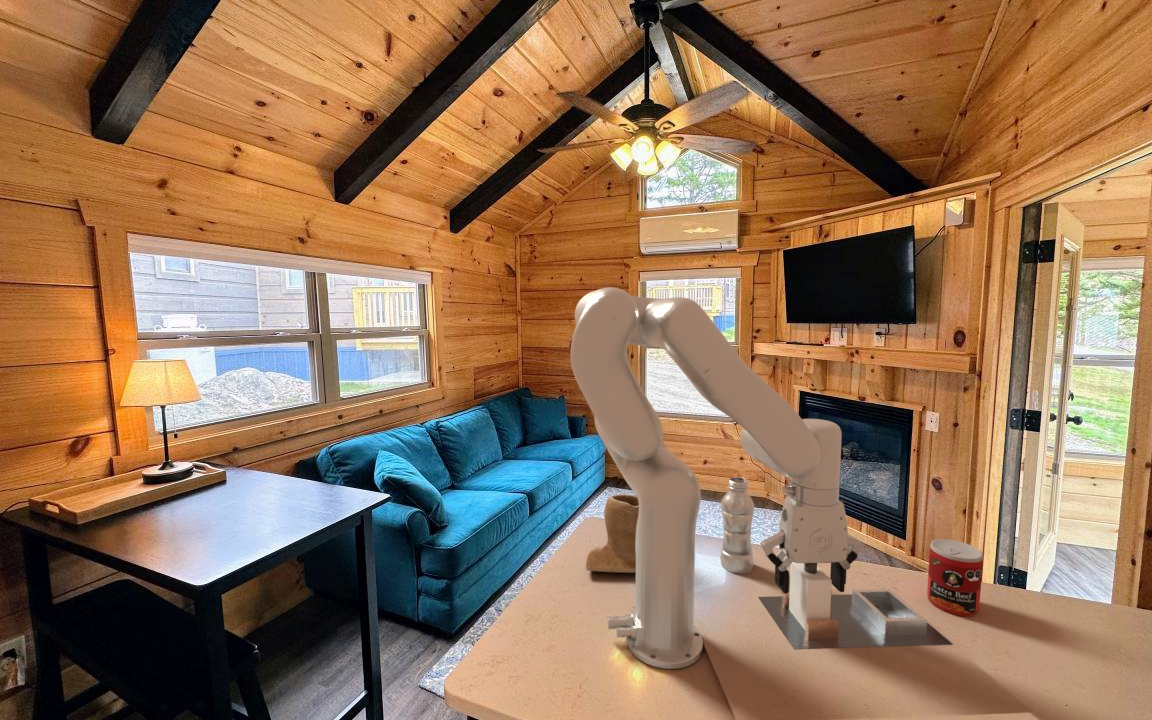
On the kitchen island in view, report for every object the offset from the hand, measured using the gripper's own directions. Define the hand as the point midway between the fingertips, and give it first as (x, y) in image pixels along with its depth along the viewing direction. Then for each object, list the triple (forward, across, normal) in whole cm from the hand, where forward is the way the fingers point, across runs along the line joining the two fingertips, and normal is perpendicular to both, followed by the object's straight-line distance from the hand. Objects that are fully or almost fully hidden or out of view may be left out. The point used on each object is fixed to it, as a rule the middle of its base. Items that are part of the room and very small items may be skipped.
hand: (809, 588), depth 82 cm
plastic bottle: (+7, -6, +18) cm, 20 cm away
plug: (+6, 0, 0) cm, 6 cm away
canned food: (+7, +30, +5) cm, 31 cm away
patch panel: (+7, +7, 0) cm, 10 cm away
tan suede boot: (+7, -30, +22) cm, 38 cm away
